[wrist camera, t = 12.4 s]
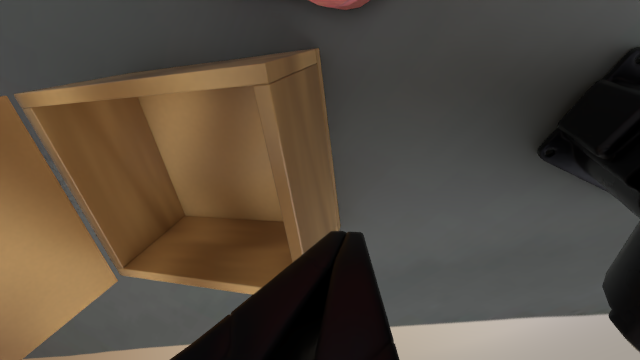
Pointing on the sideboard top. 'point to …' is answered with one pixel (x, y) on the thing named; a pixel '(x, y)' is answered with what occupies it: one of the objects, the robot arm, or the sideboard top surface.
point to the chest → (198, 166)
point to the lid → (39, 246)
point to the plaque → (340, 3)
